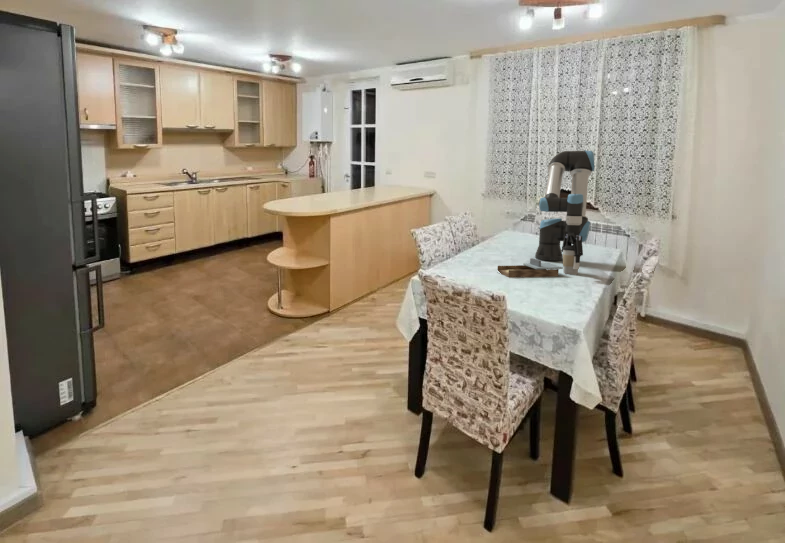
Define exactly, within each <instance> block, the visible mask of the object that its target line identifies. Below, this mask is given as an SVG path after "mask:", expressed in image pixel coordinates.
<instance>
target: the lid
mask: <svg viewBox="0 0 785 543" xmlns="http://www.w3.org/2000/svg"><path fill="white" fill-rule="evenodd" d="M523 265H525V266H528V267H531V268H534V269H559V270H563V266H560V265H556V264H553V263H551V262H542V260H540V259H536V258H534V257H533V258H532V257H530V258H529V262H525V263H523Z"/></svg>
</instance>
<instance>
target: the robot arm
mask: <svg viewBox="0 0 785 543" xmlns="http://www.w3.org/2000/svg"><path fill="white" fill-rule="evenodd" d="M594 171H595V154H594V151H592V150H586V149H585V150H565V151H561V152H559V153H557V154H556V155H554V157H553V158H552V159H551V160H550V161H549V163H548V166H547V173H548V175H547V176H548V177H547V182H546V187H545V192H544V197H540V199H539V203H538V207H539V211H540V212H546V213H548V212H549V213H550V212H551V213H556V212H557V213H566V217H565V220H563V219H562V218H561V217H558V218H557V217H556V218H555V217H554V218H547V219H542V220H541V221H540V223H539V238H538V239H539V240H538V246H537V250H536V252H535V253H534V254H535V255H534V259H536V260H540V261H563V247H565V245H573V247H574V252H575V255H574V266H573V269H578V270H580V262H581V261H580V260H581V257H582V256H583V255H584V250H583V243H584V242H587V241H588V236H589V233H590V228H591V221H590V220H589V217H587V215H586V212H587V198H588V187H589V186H588V185H589V177H590V176H591V175H592V173H593V172H594ZM565 172H569V174H570V176H571V178H572V179H571V189H570V191H571V192H570V193H569V194H568V195H567V197H560V196H561V195H560V194H561V187H562V181H563V175H564V173H565ZM561 242H562V246H561Z"/></svg>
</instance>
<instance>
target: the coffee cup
mask: <svg viewBox="0 0 785 543" xmlns="http://www.w3.org/2000/svg"><path fill="white" fill-rule="evenodd" d="M562 255H563V259H562V267H563V269H562V270H563V274H564V273H565V274H564V275H569V276H571V275H572V276H573V275H578V273H579V269H573V266H574V255H575V252H574V247H573V244H572V245H565V247H563V252H562Z"/></svg>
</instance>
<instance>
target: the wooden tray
mask: <svg viewBox="0 0 785 543" xmlns="http://www.w3.org/2000/svg"><path fill="white" fill-rule="evenodd" d="M497 270H498V271H499V272H500V273H501V274H500V273H499V274H500V275H503V276H505V277H507V278H544V277H545V278H546V277H548V278H550V277H559V270H560V269H534V268H531V267H528V266H525V265H517V264H516V265H497Z"/></svg>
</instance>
